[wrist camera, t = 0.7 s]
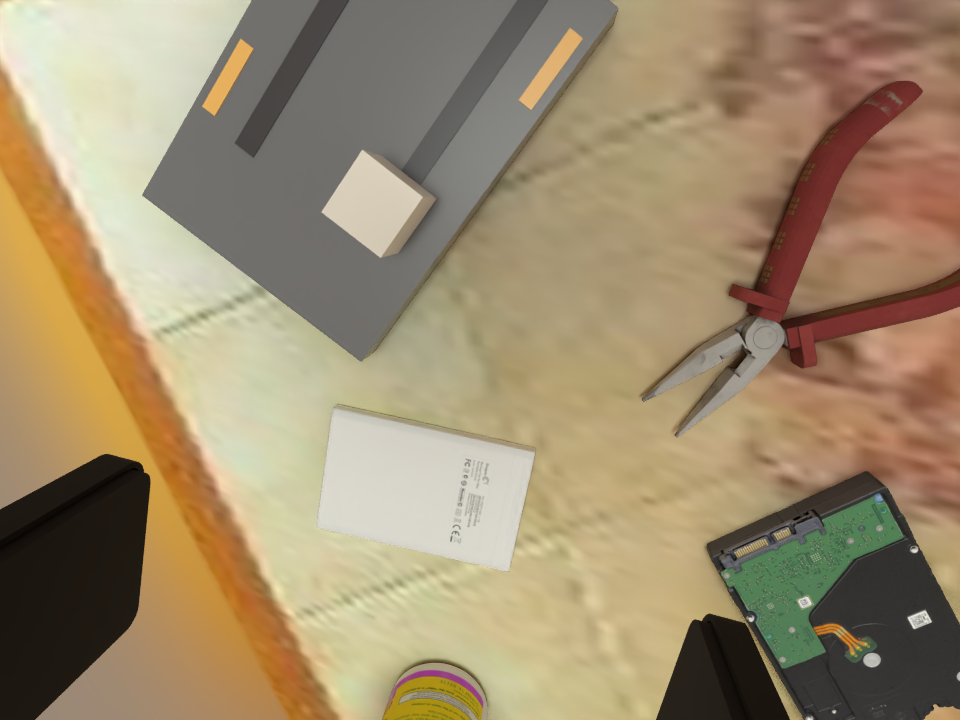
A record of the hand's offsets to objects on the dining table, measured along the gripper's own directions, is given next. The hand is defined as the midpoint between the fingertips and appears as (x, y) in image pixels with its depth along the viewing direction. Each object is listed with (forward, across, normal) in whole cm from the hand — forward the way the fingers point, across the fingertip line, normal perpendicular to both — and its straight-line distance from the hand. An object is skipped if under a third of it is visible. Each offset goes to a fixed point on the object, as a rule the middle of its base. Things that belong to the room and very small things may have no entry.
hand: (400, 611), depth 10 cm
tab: (+24, +7, -5) cm, 26 cm away
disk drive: (+28, -23, +12) cm, 38 cm away
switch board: (+27, +10, -10) cm, 30 cm away
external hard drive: (+28, +3, +11) cm, 30 cm away
